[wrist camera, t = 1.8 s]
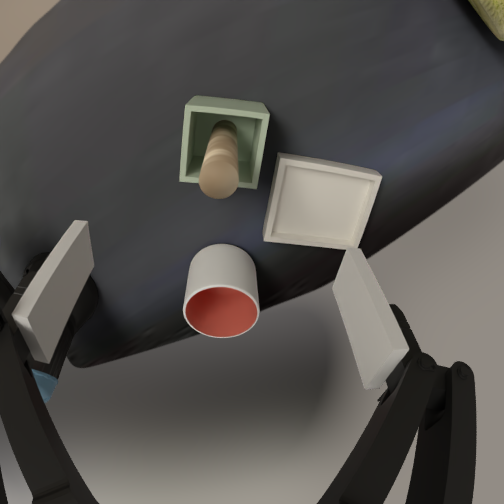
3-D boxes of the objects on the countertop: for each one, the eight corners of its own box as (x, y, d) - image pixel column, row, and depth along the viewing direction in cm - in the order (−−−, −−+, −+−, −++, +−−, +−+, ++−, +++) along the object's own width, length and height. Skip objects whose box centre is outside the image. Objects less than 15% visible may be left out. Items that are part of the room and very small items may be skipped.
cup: (196, 233, 46) (188, 278, 38) (263, 247, 48) (269, 292, 40) (186, 285, 51) (178, 331, 43) (245, 296, 53) (248, 342, 45)
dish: (262, 231, 46) (263, 241, 44) (277, 152, 39) (280, 157, 37) (351, 241, 48) (356, 250, 46) (375, 170, 41) (382, 176, 39)
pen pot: (189, 157, 39) (179, 181, 33) (195, 95, 35) (185, 104, 28) (252, 164, 40) (256, 189, 34) (263, 102, 36) (269, 114, 29)
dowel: (210, 141, 37) (197, 196, 24) (213, 118, 36) (200, 160, 23) (235, 144, 38) (236, 200, 25) (238, 121, 36) (241, 164, 23)
